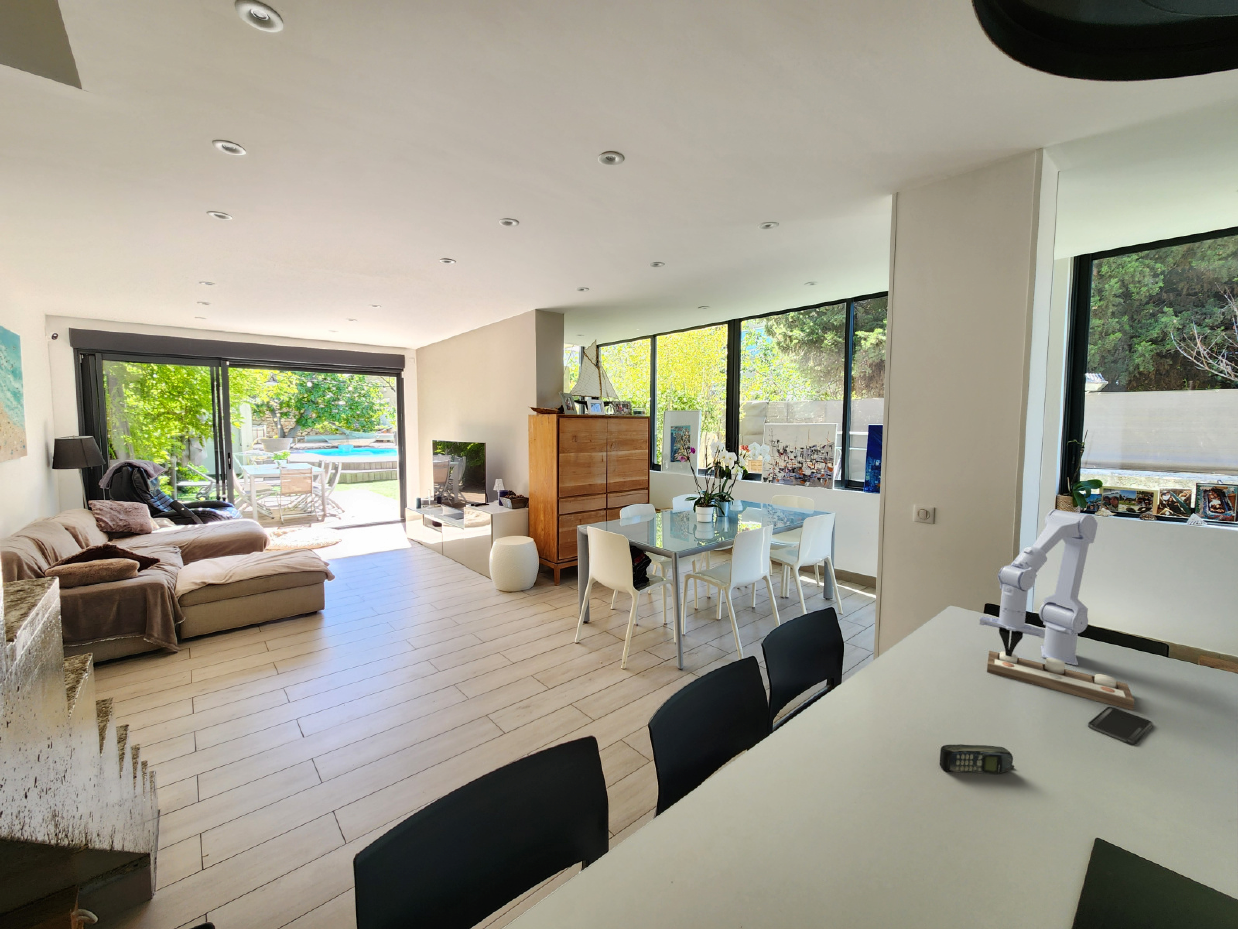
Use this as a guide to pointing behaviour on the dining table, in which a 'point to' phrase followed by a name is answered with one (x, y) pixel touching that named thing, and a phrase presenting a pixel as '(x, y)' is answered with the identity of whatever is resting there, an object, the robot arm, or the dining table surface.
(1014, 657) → the end button
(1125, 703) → the button board
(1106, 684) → the end button
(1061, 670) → the middle button
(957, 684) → the dining table surface
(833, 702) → the dining table surface
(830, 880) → the dining table surface
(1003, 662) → the pattern card
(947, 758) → the mobile phone
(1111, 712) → the phone
